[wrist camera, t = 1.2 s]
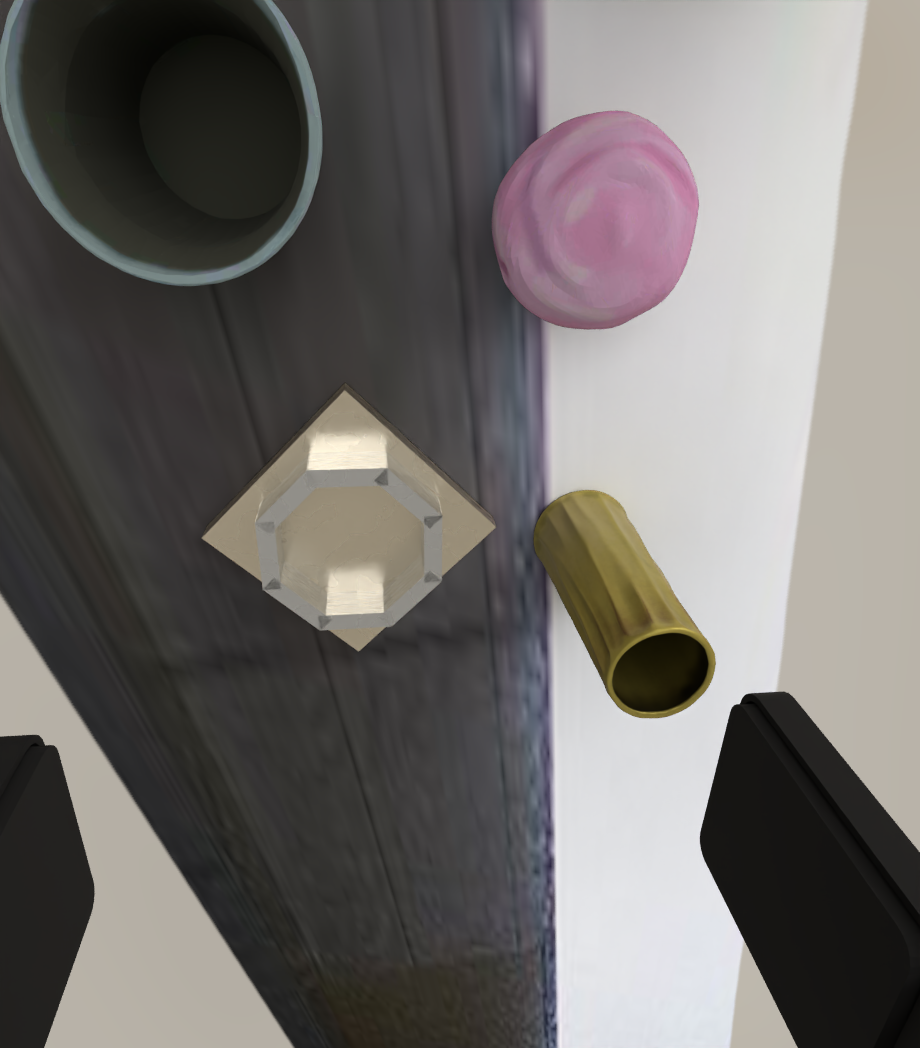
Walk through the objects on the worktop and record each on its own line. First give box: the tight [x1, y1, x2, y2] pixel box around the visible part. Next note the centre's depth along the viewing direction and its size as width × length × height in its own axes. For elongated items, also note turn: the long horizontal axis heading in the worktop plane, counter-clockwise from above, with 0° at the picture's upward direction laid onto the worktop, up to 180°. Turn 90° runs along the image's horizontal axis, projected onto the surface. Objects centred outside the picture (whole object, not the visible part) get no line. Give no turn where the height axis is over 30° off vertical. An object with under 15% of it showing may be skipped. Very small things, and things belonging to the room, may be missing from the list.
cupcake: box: [492, 111, 699, 329], centre depth 33 cm, size 9×9×10 cm
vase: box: [534, 490, 716, 718], centre depth 40 cm, size 6×6×14 cm
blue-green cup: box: [0, 0, 322, 286], centre depth 29 cm, size 10×10×12 cm
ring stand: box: [202, 383, 496, 651], centre depth 42 cm, size 12×12×4 cm
